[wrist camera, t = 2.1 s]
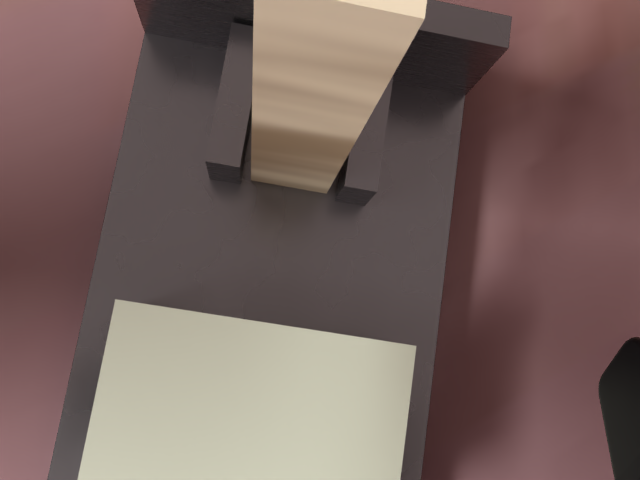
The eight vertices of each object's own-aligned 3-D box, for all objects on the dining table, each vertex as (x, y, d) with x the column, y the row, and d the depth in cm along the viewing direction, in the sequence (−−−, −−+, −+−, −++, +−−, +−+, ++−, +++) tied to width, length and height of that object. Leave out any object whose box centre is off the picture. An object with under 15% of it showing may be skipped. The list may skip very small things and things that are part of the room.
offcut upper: (380, 524, 17) (393, 542, 15) (88, 487, 16) (72, 503, 14) (402, 344, 17) (416, 345, 16) (127, 302, 17) (115, 299, 15)
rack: (394, 581, 19) (444, 667, 14) (47, 541, 18) (-28, 618, 13) (455, 69, 22) (514, -6, 17) (161, 10, 21) (135, -87, 16)
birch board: (326, 193, 19) (424, 18, 9) (250, 180, 19) (254, -17, 8) (343, 80, 20) (454, -214, 9) (270, 66, 20) (297, -252, 9)
